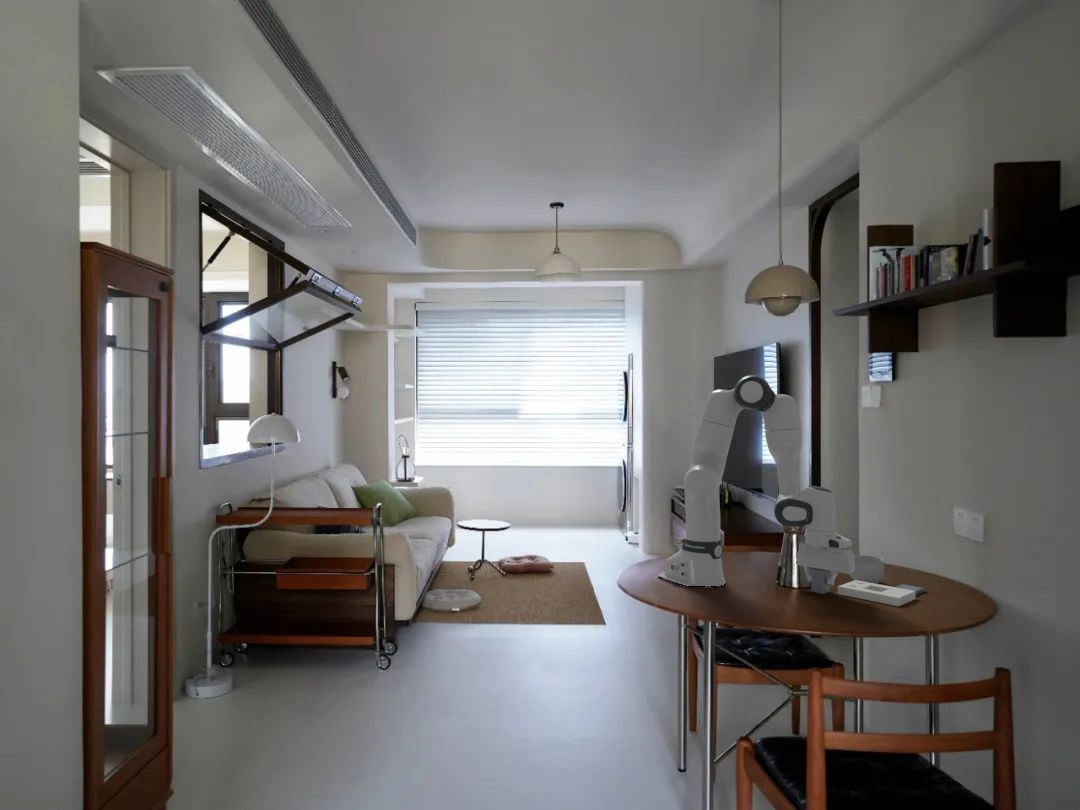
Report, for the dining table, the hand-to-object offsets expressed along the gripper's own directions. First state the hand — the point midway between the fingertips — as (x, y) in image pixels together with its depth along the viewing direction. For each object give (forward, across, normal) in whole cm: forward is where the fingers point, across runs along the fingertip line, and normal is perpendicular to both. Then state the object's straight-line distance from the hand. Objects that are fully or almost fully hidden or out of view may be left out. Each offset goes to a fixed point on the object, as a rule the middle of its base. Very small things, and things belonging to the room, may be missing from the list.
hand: (820, 583), depth 220 cm
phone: (+3, +18, +19) cm, 26 cm away
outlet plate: (+3, +14, +7) cm, 16 cm away
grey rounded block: (+3, +3, +23) cm, 23 cm away
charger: (+3, 0, 0) cm, 3 cm away
